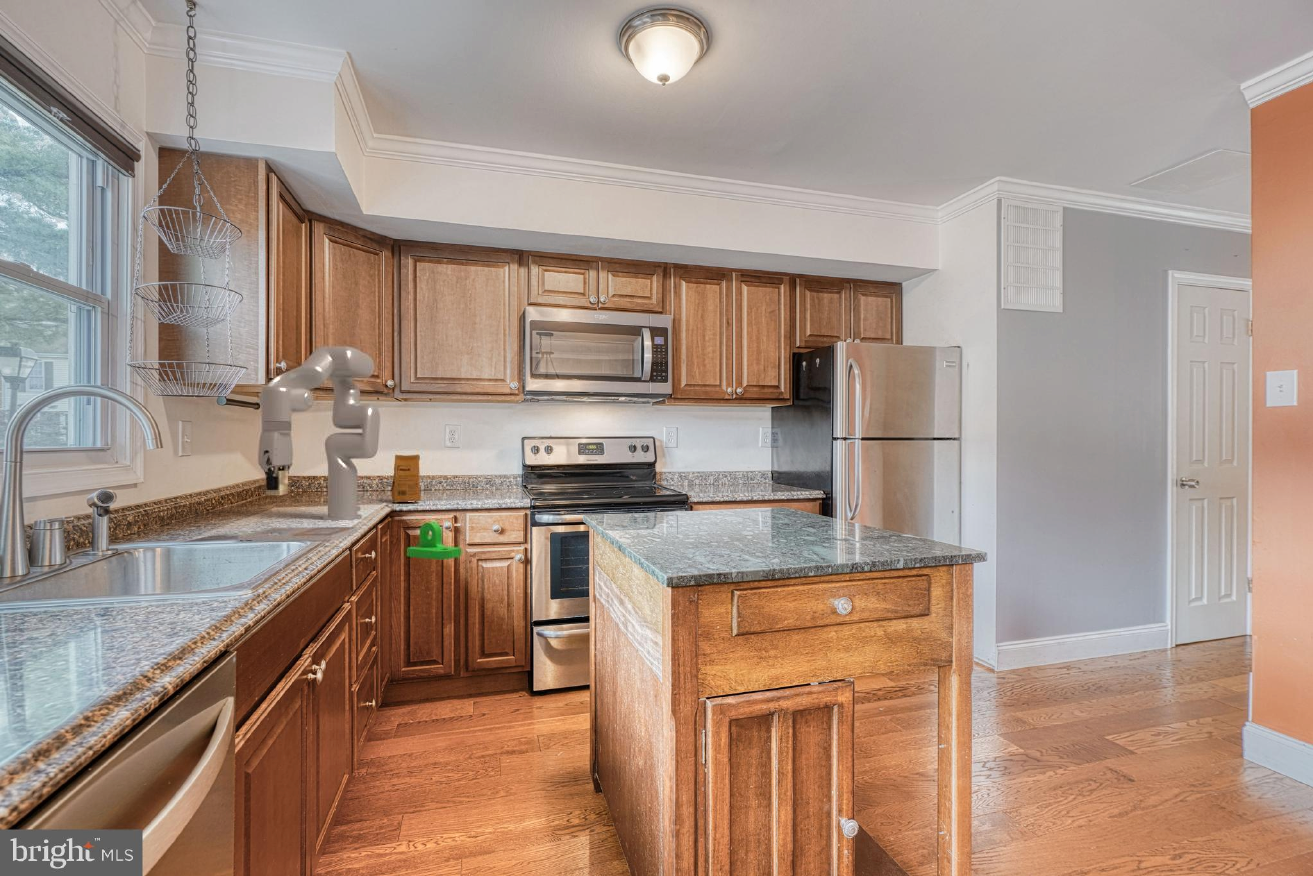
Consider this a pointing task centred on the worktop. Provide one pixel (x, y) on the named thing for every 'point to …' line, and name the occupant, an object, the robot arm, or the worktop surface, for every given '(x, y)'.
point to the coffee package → (406, 479)
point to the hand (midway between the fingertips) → (277, 488)
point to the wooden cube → (280, 484)
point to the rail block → (300, 534)
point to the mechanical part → (432, 544)
